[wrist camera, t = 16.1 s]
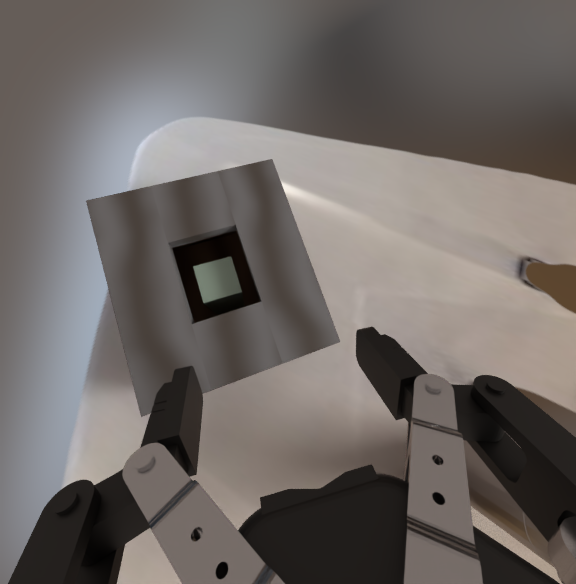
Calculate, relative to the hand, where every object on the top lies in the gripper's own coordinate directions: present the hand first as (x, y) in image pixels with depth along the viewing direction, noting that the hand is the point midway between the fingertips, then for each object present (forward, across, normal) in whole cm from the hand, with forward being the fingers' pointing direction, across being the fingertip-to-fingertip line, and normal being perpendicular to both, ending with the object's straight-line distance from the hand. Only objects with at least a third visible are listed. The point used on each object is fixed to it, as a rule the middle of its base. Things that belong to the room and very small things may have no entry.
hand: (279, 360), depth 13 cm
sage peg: (+29, +4, +10) cm, 31 cm away
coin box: (+30, +4, +10) cm, 32 cm away
